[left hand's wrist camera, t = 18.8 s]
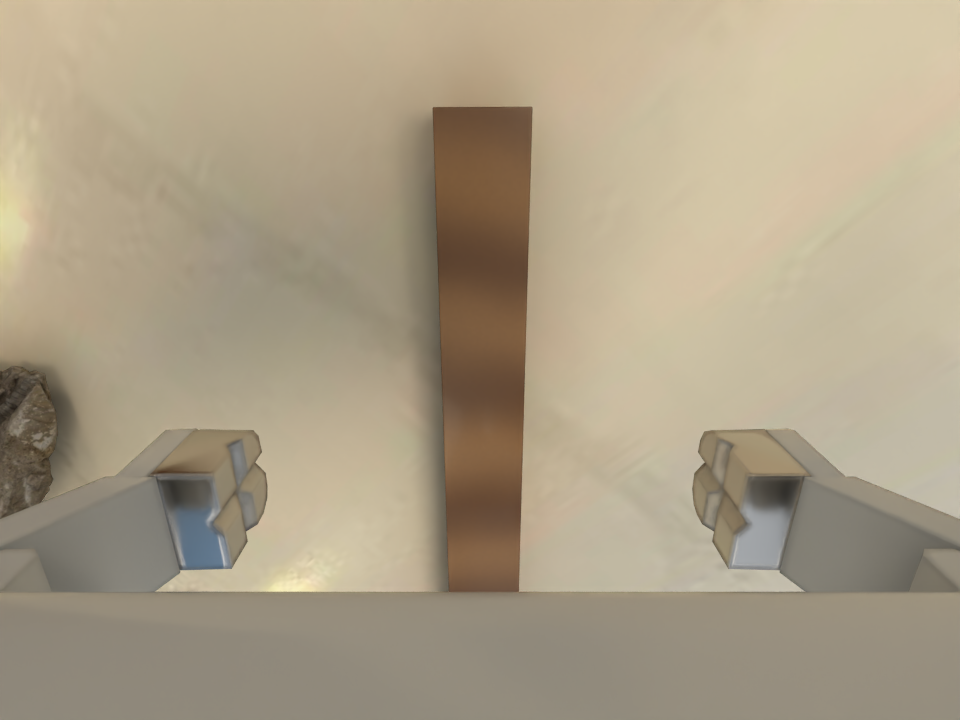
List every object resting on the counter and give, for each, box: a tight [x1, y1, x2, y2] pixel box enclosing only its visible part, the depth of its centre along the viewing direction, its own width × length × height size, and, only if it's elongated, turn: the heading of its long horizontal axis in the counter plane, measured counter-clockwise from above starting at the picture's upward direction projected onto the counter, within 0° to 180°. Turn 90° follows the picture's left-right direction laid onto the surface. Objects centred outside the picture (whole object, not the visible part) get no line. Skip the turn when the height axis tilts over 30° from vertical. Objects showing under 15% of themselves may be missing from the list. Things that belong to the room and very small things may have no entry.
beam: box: [433, 107, 532, 592], centre depth 43 cm, size 54×6×6 cm, turn 0°
